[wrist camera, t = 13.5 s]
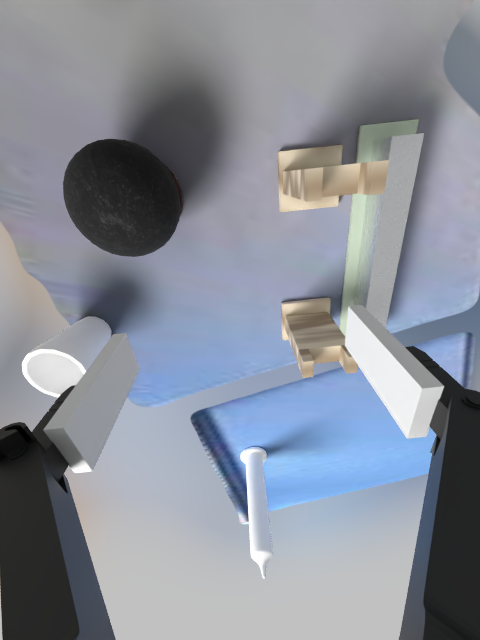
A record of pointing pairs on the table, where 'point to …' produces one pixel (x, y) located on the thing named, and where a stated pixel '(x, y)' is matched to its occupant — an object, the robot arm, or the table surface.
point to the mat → (358, 204)
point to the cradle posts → (309, 193)
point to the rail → (386, 224)
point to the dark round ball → (122, 197)
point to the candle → (258, 507)
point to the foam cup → (66, 356)
